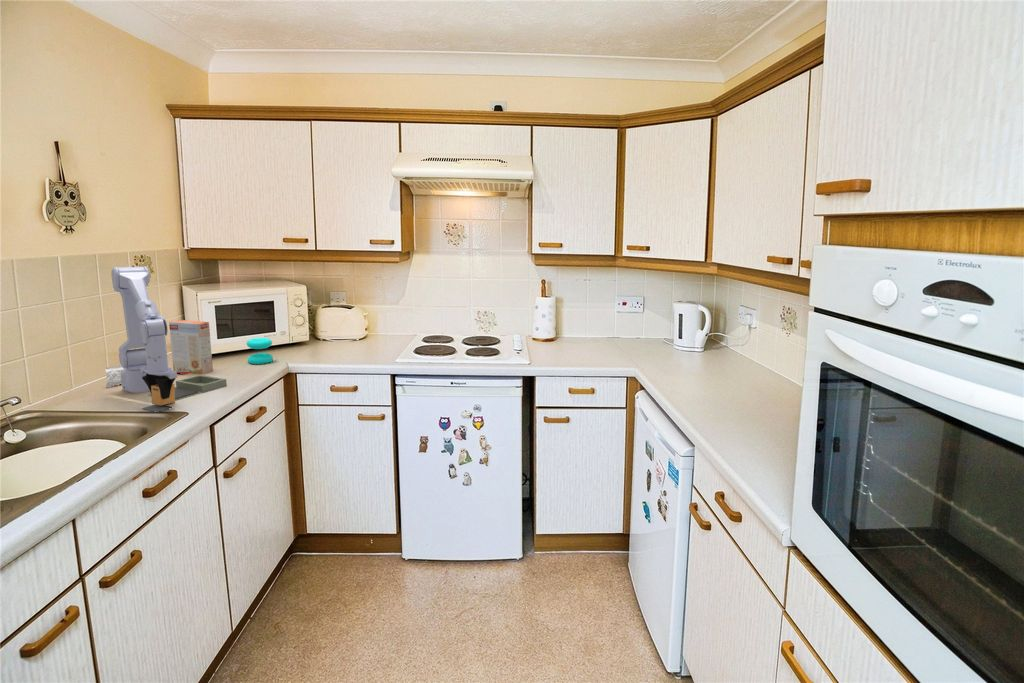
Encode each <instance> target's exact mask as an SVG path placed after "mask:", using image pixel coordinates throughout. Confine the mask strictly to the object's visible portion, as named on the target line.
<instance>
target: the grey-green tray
mask: <svg viewBox="0 0 1024 683" xmlns="http://www.w3.org/2000/svg"><path fill="white" fill-rule="evenodd" d="M227 385H228V384H227V379H226V378H221V377H216V376H211V375H206V374H197V375H193V376H190V377H187V378H184V379H178V380H175V386H174V388H175V402H176V401H180V400H183V399H187V398H190V397H194V396H196V395H200V394H203V393H206V392H207V393H208V392H211V391H215V390H218V389H221V388H225V387H227ZM148 396H149V397H152V395H151V393H150V394H148Z"/></svg>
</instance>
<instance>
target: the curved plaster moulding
mask: <svg viewBox="0 0 1024 683" xmlns="http://www.w3.org/2000/svg"><path fill="white" fill-rule="evenodd" d="M123 369H124V368H123V367H122V366H121V365H119V366H118V365H116V366H109V367H104V370H105V372H106V379H107V383H106V385H105V388H106V387H109V388H111V387H110V386H113V387H115V386H114V385H118V384H122V381H121V372H122V370H123ZM118 386H119V385H118Z"/></svg>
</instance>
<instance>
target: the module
mask: <svg viewBox="0 0 1024 683" xmlns="http://www.w3.org/2000/svg"><path fill="white" fill-rule="evenodd" d="M174 387H175V383H173V384H172V387H171V391H170V396H169V398H166V399H162V397H161V394H160V389H159V386H158V384H157V385H152V386H151V392H152V396H151V405H160V406H161V405H165V406H166V405H169V404H173V403H176V401H175V388H174Z"/></svg>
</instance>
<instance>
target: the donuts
mask: <svg viewBox="0 0 1024 683" xmlns="http://www.w3.org/2000/svg"><path fill="white" fill-rule="evenodd" d="M272 344H273V341H272V339H271V338H267V337H256V338H251V339H248V340H247V341H246V346H247V347H248V348H250V349H254V350H263V349H267V348H269V347H271V346H272ZM273 360H274V357H273V355H271V354H270V353H267V352H257V353H253V354H250V355H249V356H248V357H247V361H248V363H249V364H252V365H265V364H264V363H266V364H269V362H270V363H271V362H273Z"/></svg>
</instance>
